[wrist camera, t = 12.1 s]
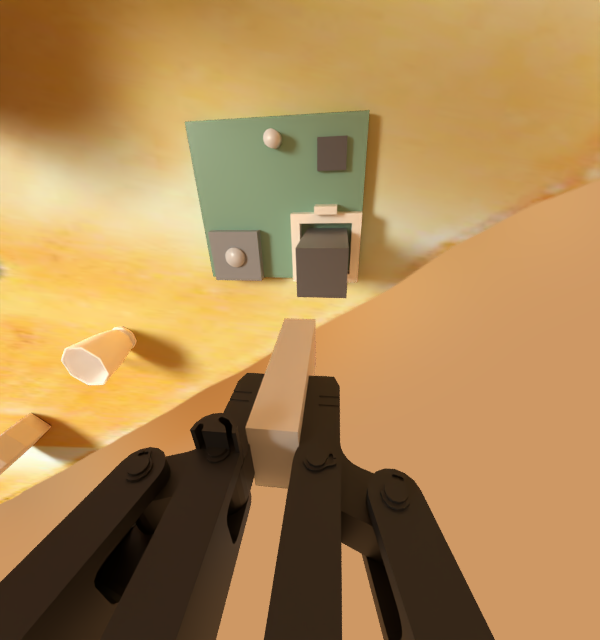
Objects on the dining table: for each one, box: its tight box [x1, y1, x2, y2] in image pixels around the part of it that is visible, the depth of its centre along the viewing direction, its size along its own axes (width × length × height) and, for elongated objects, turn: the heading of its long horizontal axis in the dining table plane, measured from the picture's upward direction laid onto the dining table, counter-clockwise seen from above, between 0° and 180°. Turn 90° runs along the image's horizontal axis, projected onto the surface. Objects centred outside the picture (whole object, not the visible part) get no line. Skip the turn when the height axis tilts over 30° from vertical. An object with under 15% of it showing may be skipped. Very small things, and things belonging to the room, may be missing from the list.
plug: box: [295, 228, 349, 298], centre depth 29 cm, size 5×4×10 cm
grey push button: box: [208, 230, 264, 281], centre depth 34 cm, size 6×10×3 cm, turn 92°
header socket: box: [290, 204, 362, 282], centre depth 32 cm, size 9×8×2 cm
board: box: [185, 110, 370, 278], centre depth 31 cm, size 17×19×3 cm
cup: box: [61, 327, 137, 385], centre depth 42 cm, size 7×10×8 cm
